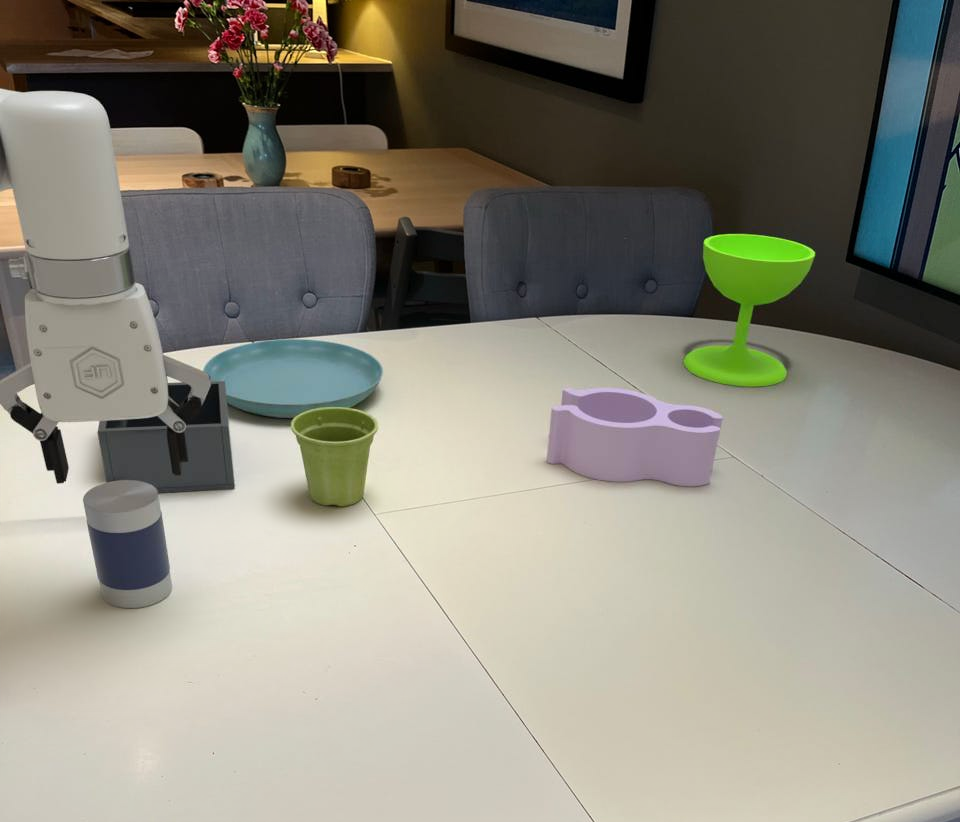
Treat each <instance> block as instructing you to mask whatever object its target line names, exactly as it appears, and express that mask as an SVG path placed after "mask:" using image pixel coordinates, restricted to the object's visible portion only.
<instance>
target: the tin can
mask: <svg viewBox="0 0 960 822" xmlns="http://www.w3.org/2000/svg"><path fill="white" fill-rule="evenodd" d="M82 502H83V503H82V504H83V508H84V512H85V517H86V525H87V531H88V536H89V541H90V545H91V549H92V550H91V551H92V555H93V560H94V561H93V562H94V565H95V571H96V576H97V579H98V582H99V588H100V592H101V597H102V599H103V601H105V602H106V603H107V604H109V605H111V606H114V607H117V608H121V609H139V608H145V607H150V606H153V605H155V604H158V603H159V602H162V601H164V600H165V599H166V598H167V597H168V596H169V595H170V594H171V592H172V591H173V590H172V589H173V582H172V576H171V575H172V574H171V565H170V560H169V559H170V558H169V552H168V545H167V539H166V531H165V526H164V519H163V512H162V509H161V502H160V496H159V493H158V491H157V489H156V488H155V487H154V486H152V485H151V484H148V483H146V482H142V481H136V480H119V481H112V482H104V483H100V484H98V485H96V486H94V487H93V486H92V488H90V489H89V490H87V491H86V492H85V493H84V494H83V497H82Z"/></svg>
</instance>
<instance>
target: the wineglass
mask: <svg viewBox="0 0 960 822" xmlns="http://www.w3.org/2000/svg"><path fill="white" fill-rule="evenodd" d="M702 247H703V248H702V251H703V252H702V260H703V264H704V268H705V272H706V274H707V275H708V277H709V280H710V281H711V283H712V286H713V287H714V288H715V289H716V290H717V291H719V293H721V295H722V296H723V297H725V298H727V299H729V300H731V301H734V302H736V303H738V304H740V308H739V311H738V312H739V313H738V317H737V322H736V327H735V328H736V329H735V332H734V337H733V342H732V343H731V345H709V346H708V345H707V346H702V347H699V348H696V349H693V350H691V351H690V352H689V353H687V354H686V355H685V357H684V359H683V361H682V363H683V362H684V364H683V366H684V365H685V367H686V368H687V369H688V370H689V371H688V370H687V369H686V368H685V367H684V368H685V369H686V370H687V371H688V372H689V373H691V374H693V375H695V376H697V377H699V378H701V379H704V380H707V381H710V382H714V383H718V384H723V385H728V386H735V387H747V388H748V387H749V388H755V387H756V388H757V387H768V386H773V385H777V384H779V383H782V382H783V381H784V380H785V379H787V375H786V373H787V369H786V367H785V365H784V364H783V362H782V361H780V360H778V359H777V358H776V357H775V356H773V355H770V354H768V353H766V352H763V351H760V350H757V349H753V348H749V347H748V348H747V340H748V336H749V331H750V327H751V326H750V325H751V320H752V316H753V310H754V307H755V306H761V305H766V304H771V303H774V302H776V301H779V300H780V299H782V298H784V297H786V296H788V295H790V293H792V291H794V290H795V289H796V288H797V287H798V286H799V285H800V284H801V283H802V282H803V280H804V279H805V278H806V277H807V275H808V273H809V272H810V270H811V267H812V265H813V262H814V259H815V257H816V251H814V250H813V249H812V248H811V247H809V246H807V245H805V244H802V243H799V242H797V241H793V240H789V239H785V238H780V237H775V236H768V235H760V234H748V233H725V234H717V235H712V236H709V237H707V238H705V239H704V241H703V246H702ZM787 374H788V373H787Z"/></svg>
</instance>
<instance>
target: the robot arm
mask: <svg viewBox="0 0 960 822" xmlns="http://www.w3.org/2000/svg"><path fill="white" fill-rule="evenodd" d="M6 190H7V191H8V190H12V193H13V197H14V202H15V207H16V210H17V211H16V212H17V215H18V220H19V224H20V230H21V233H22V238H23V243H24V247H25V252H24V254H23V256H18V258H9V259H8V268H9V274H10V275H11V278H22V279H23V280H25V279H26V280H27V282H28V283H30V284H31V289H30V290H29V291H28V292H27V293H26V294H25V295H24V315H25V317H24V318H25V330H26V339H27V345H28V346H27V347H28V354H29V358H30V362H29V363H27V364H26V365H24V366H23V367H21V368H19V369H18V370H15V371H14V372H12V373H10V374H9V375H7V376H6V377H3V378H2V379H0V406H1V407H2V408H3V409H4V410H5V411H6V412H7V413H8V414H9V416H10V419H11V420H12V421H13V422H15V423H17V424H18V425H20V426H21V427H22V428H24V429H25V430H27V431H28V432H30V433H32V435H33V438H34V439H35V440H37V441H39V443H40V447H41V452H42V457H43V460H44V464H45V468H46V472H50V471H53V473H54V478H55V482H56V484H58V485H59V484H64V483H65V482H67V478H68V473H69V466H70V465H69V462H68V457H67V453H66V448H65V444H64V440H63V434H62V431H61V429H60V428H59V427H58V426H57V425H58V424H59V423H85V422H86V423H87V422H88V423H89V422H99V421H107V420H125V419H140V418H150V417H154V416H158V417H159V418H160V419H161V420H162V421H163V422H164V423H166V424H167V441H168V448H169V454H170V460H171V467H172V473H173V474H175V476H177V475H181V464H182V463H181V462H188V451H187V444H186V437H185V429H186V426H187V425H188V424H189V423H190V421H191V420H192V419H193V418H194V417H195V416H196V415H197V414H198V413H199V411H200V410H201V408H202V404H203V402H204V400H205V398H206V395H207V393H208V391H209V388H210V386H211V377H210V375H209V374H208V373H206V372H204V371H203V370H201V369H199V368H196V367H194V366H191V365H189V364H187V363H184V362H182V361H181V360H178V359H175V358H173V357H171V356H167V355H166V354H164V352H163V347H162V343H161V339H160V334H159V330H158V326H157V322H156V319H155V316H154V312H153V309H152V305H151V302H150V300H149V297H148V295H147V292H146V289H145V286H144V285H142V284H141V283H138V282H136V280H135V273H134V267H133V260H132V255H131V248H130V247H131V246H130V243H129V237H128V230H127V223H126V217H125V211H124V205H123V198H122V193H121V186H120V180H119V174H118V168H117V160H116V154H115V149H114V142H113V137H112V131H111V124H110V119H109V117H108V114H107V111H106V109H105V108H104V106H103V104H101V102H100V101H99V100H98V99H96V98H95V97H93V96H91V95H88V94H86V93H81V92H75V91H65V90H64V91H63V90H62V91H61V90H37V91H36V90H35V91H26V92H22V91H16V90H9V89H5V88H0V193H1V192H4V191H6ZM168 378H171V379H173V380H176V381H179V382H183V383H186V384H188V385H190V386H191V391H190V393H189V395H188V396H187V397H186V398H185V399H184V401H183V402H182V403H181V404H180V405H178V404H177V403H176V402H175V401H174V400H173V399H171V398H170V397H169V396H168V383H169V382H168ZM33 384H34V388H35V389H34V390H35V395H36V400H37V403H38V406H39V409H40V412H39V411H37V410H36V409H34V408H33V407H31V406H30V405H29V404H27V403H26V402H24V401H23V400H22V399H21V397H20V395H18V393H19V392H21V391H23V390H25V389H27V388H28V387H30V386H32V385H33Z"/></svg>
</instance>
